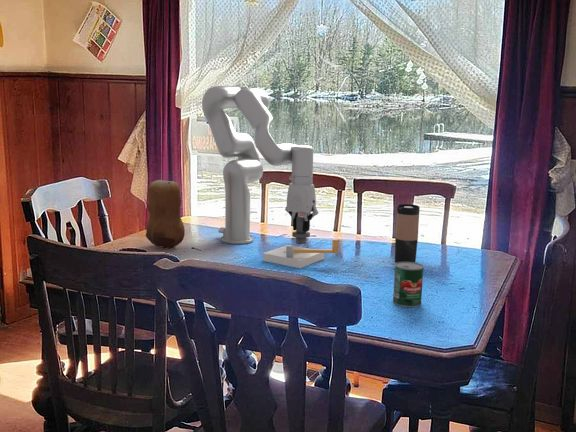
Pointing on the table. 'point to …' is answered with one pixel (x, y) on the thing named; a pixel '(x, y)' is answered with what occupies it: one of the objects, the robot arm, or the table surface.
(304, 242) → the plug
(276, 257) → the white square base
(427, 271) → the table surface
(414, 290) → the canned tomato
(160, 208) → the butternut squash
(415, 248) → the travel mug
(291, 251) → the orange crank handle
